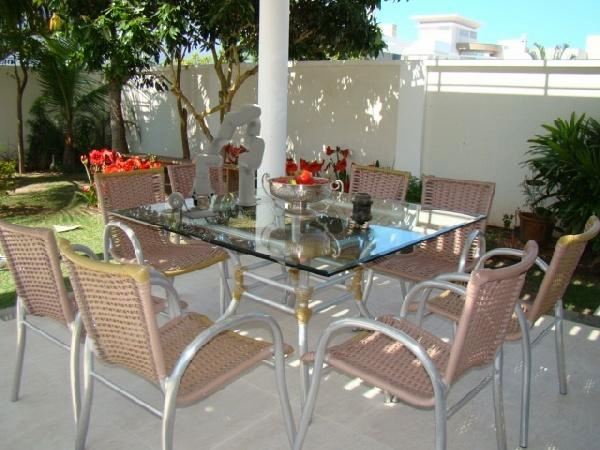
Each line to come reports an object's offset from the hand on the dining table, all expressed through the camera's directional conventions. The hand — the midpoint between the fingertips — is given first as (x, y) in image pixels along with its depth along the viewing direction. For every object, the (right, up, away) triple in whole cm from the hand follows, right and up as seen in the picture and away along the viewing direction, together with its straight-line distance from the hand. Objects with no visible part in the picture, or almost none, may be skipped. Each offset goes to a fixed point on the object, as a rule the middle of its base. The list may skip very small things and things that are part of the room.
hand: (202, 205), depth 325 cm
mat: (+2, -6, -18) cm, 19 cm away
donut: (-14, -3, -6) cm, 15 cm away
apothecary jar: (+89, -13, -29) cm, 95 cm away
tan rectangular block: (0, -2, 0) cm, 2 cm away
